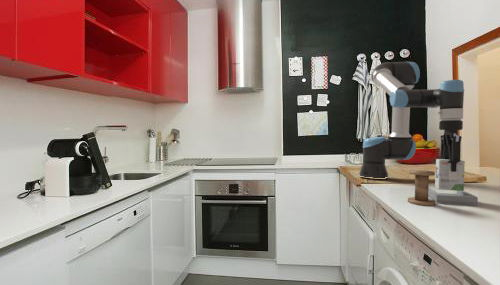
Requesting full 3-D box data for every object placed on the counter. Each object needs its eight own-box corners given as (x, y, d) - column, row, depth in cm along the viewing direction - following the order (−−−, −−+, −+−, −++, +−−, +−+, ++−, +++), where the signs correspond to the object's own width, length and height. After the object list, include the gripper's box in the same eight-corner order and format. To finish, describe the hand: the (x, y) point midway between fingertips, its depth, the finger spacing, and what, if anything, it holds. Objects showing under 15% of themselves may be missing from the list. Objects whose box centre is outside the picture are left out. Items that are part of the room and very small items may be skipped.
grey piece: (425, 194, 119) (425, 187, 118) (460, 196, 115) (461, 189, 115) (436, 202, 105) (437, 195, 105) (477, 205, 101) (478, 197, 101)
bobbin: (405, 198, 111) (405, 169, 111) (430, 200, 109) (431, 170, 108) (411, 204, 103) (412, 172, 102) (439, 206, 100) (440, 173, 100)
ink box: (438, 189, 110) (439, 160, 109) (434, 186, 115) (435, 158, 114) (464, 191, 107) (465, 160, 106) (459, 188, 112) (460, 159, 111)
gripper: (432, 120, 119) (430, 174, 120) (449, 119, 102) (447, 182, 103) (452, 120, 117) (450, 175, 118) (473, 119, 100) (471, 183, 101)
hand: (449, 178), depth 110 cm, fingers closed on ink box, 5 cm apart
